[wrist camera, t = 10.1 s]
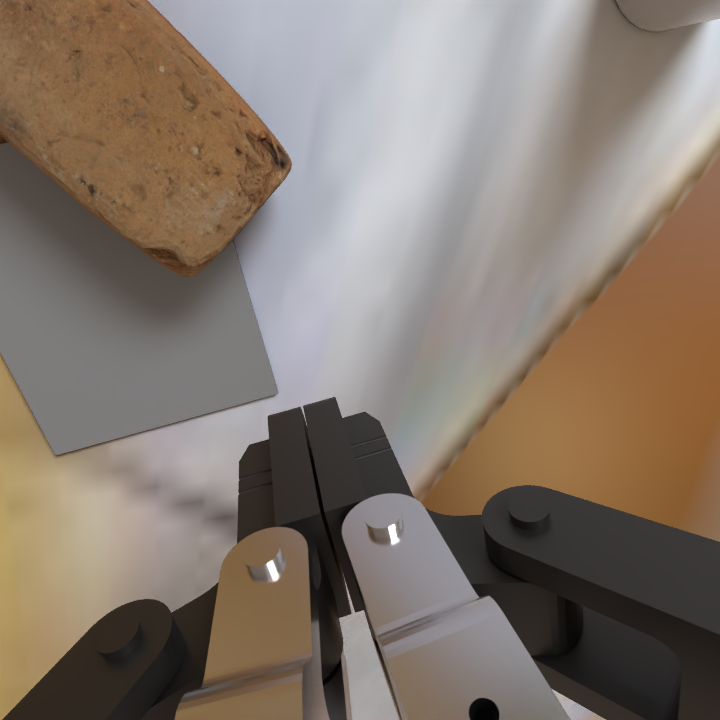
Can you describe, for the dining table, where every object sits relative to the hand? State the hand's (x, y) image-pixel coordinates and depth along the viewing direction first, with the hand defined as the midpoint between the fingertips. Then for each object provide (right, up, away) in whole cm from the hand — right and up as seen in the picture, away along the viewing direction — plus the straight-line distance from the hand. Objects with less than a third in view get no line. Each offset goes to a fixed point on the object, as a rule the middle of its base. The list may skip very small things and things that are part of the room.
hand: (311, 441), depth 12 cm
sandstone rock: (-6, +10, +22) cm, 25 cm away
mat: (-17, +7, +27) cm, 32 cm away
